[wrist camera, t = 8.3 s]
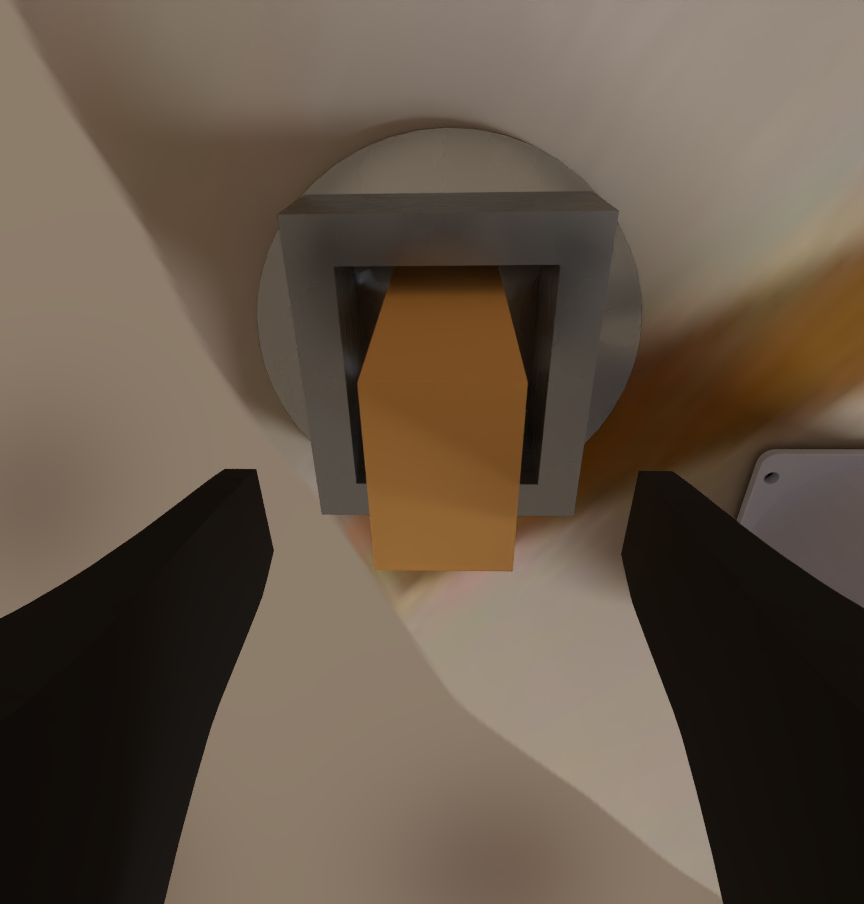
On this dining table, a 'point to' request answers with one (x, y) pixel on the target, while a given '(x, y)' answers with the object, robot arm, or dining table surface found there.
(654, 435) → the dining table surface
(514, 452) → the rectangular block
